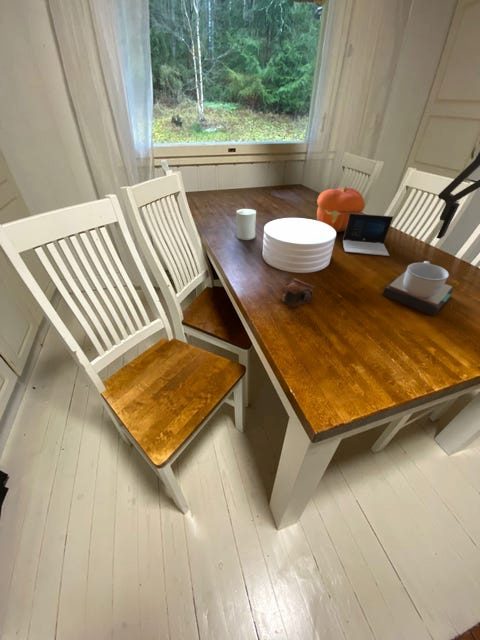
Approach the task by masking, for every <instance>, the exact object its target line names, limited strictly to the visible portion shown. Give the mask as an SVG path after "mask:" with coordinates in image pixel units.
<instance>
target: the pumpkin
mask: <svg viewBox="0 0 480 640" xmlns="http://www.w3.org/2000/svg"><path fill="white" fill-rule="evenodd" d="M316 203H317V206H318V207H317V210H316V221H319V222H323V223H325V224H327V225H329V226H331V227H332V228H334V230H335V231H336V233H340V232H345V230H346V226H347V222H348V218H349V215H350V213H354V214H363V211H364V210H365V206H366V205H365V198H364V197H363V195H362V194H361V193H360V192H359V191H358V190H357V189H355V188H351V187H346V186H344V187H340V188H337V189H335V188H328V189H326V190H324V191H322V192H321V193H320V194H319V195H318V197H317V201H316Z"/></svg>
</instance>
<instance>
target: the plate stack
mask: <svg viewBox="0 0 480 640" xmlns="http://www.w3.org/2000/svg"><path fill="white" fill-rule="evenodd" d="M336 237H337V232H336V231H335V230H334V228H332V227H331V226H329V225H327V224H325V223H323V222H319V221H318V220H317V219H310V218H304V217H284V218H277V219H274V220H272V221H269V222H267V223H266V224H265V225H264V227H263V241H262V259H263V261H265V263H266V264H268V265H269V266H271V267H273V268H275V269H276V270H277V269H278V270H281V271H285V272H288V273H289V272H290V273H297V274H298V273H299V274H305V273H306V274H307V273H314V272H315V273H316V272H318V271H321V270H323V269H326V268H327V267H328V266H329V264H330V262H331V258H332V254H333V250H334V245H335V242H336V239H337V238H336Z"/></svg>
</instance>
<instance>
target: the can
mask: <svg viewBox="0 0 480 640" xmlns="http://www.w3.org/2000/svg"><path fill="white" fill-rule="evenodd" d="M256 221H257V210H255V209H252V208H240V209H237V210H236V236H235V237H236V238H237V239H239V240H243V241H244V240H245V241H250V240H253V239H255V238H256V225H257V223H256Z"/></svg>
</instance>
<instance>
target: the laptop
mask: <svg viewBox="0 0 480 640" xmlns="http://www.w3.org/2000/svg"><path fill="white" fill-rule="evenodd" d="M393 218H394V216H390V215H381V214H367V213H362V214H354V213H350V215H349V218H348V222H347V226H346V230H345V231H344V234H343V238H342V245H343V249H344V253H350V254H361V255H370V256H371V255H373V256H380V257H381V256H382V257H390V254H389V252H388V249H387V248H386V246H385V241H386V238H387V236H388V233H389V230H390V228H391V224H392V222H393Z"/></svg>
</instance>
